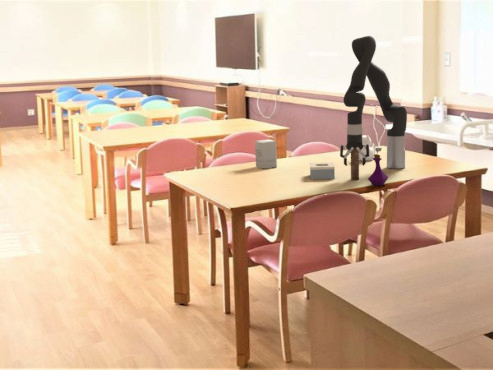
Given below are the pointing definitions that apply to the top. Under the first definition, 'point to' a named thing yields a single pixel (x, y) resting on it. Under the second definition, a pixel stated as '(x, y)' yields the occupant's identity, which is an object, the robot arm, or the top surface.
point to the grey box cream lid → (322, 171)
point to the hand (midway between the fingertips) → (354, 165)
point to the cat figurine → (371, 152)
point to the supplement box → (265, 153)
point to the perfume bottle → (378, 172)
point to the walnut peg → (354, 164)
